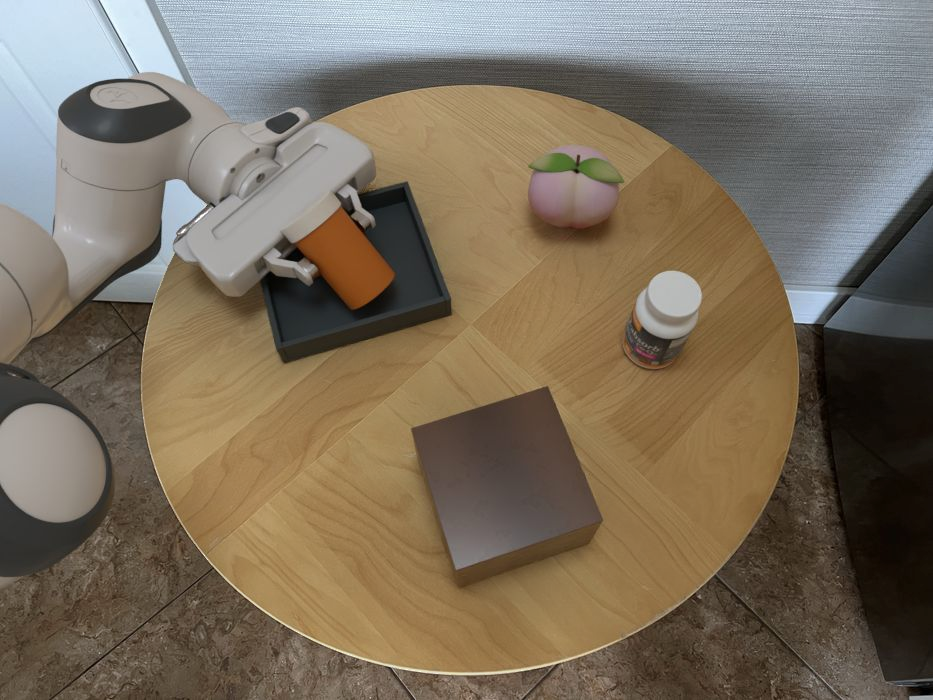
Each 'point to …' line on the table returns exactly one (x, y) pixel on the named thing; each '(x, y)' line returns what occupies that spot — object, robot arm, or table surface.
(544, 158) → the decorative fruit
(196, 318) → the table surface
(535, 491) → the walnut block
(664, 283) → the pill bottle
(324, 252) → the amber pill bottle
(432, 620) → the table surface
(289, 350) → the slate tray
